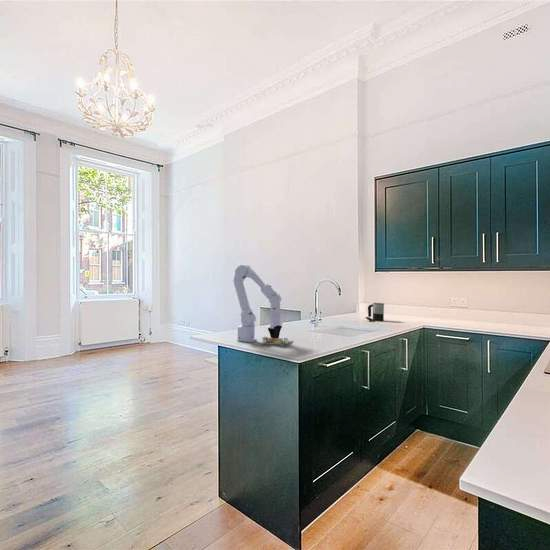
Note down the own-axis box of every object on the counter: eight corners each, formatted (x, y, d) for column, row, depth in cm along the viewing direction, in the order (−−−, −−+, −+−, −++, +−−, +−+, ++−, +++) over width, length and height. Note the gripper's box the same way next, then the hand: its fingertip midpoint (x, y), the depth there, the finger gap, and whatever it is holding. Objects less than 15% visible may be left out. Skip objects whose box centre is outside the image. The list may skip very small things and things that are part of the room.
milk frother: (384, 320, 302) (384, 303, 302) (382, 322, 288) (382, 304, 288) (367, 319, 308) (367, 302, 308) (364, 321, 293) (365, 303, 293)
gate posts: (261, 345, 193) (261, 338, 193) (262, 344, 196) (262, 337, 196) (287, 346, 192) (287, 338, 192) (287, 345, 195) (287, 337, 195)
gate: (263, 342, 196) (263, 337, 196) (264, 342, 197) (264, 336, 197) (281, 344, 193) (281, 338, 193) (282, 343, 195) (282, 337, 195)
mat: (260, 345, 194) (260, 344, 194) (268, 340, 209) (268, 339, 209) (287, 347, 190) (287, 346, 190) (293, 341, 205) (293, 341, 205)
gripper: (278, 317, 195) (278, 342, 195) (285, 314, 209) (284, 337, 209) (266, 316, 196) (266, 341, 196) (273, 313, 210) (273, 336, 210)
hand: (275, 339), depth 203 cm, fingers open, 7 cm apart
